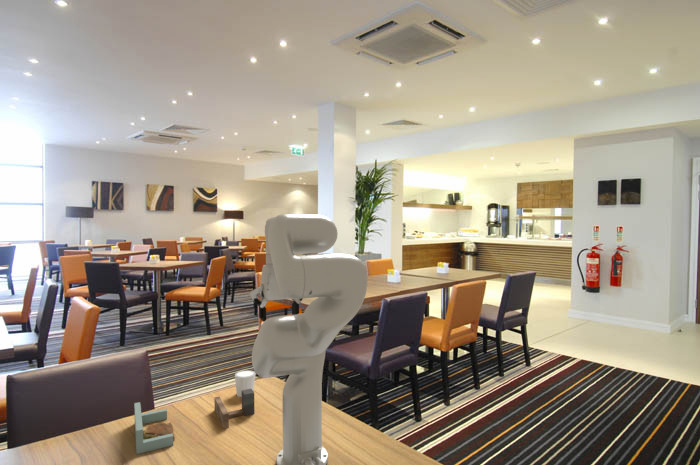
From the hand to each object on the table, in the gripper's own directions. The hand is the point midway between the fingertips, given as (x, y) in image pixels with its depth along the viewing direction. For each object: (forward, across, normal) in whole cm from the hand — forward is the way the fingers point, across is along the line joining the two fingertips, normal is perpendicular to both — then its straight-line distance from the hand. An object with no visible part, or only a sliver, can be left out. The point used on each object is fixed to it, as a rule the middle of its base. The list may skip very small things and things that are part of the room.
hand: (279, 318), depth 120 cm
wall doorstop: (+30, +10, -10) cm, 34 cm away
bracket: (+30, +33, -10) cm, 46 cm away
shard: (+31, +30, -10) cm, 44 cm away
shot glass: (+31, +4, -24) cm, 39 cm away
